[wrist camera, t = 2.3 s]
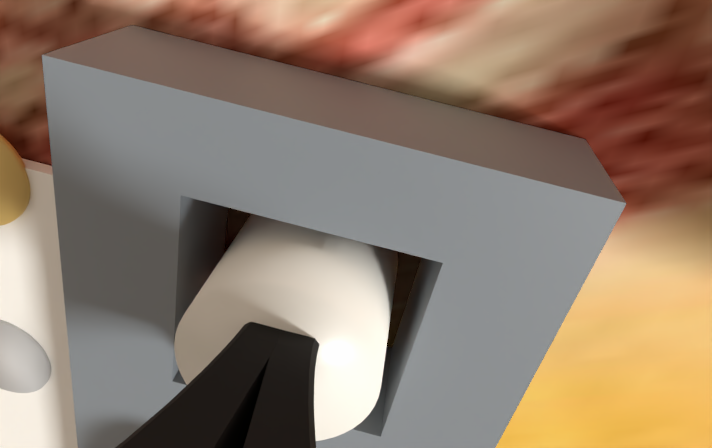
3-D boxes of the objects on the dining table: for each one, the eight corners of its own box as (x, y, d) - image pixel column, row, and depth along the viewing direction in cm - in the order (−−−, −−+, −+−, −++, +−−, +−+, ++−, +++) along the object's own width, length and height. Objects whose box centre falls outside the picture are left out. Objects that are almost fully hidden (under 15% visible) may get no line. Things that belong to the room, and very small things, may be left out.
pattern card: (98, 508, 21) (90, 521, 21) (-22, 475, 21) (-33, 488, 21) (73, 135, 13) (60, 143, 13) (-121, 85, 13) (-142, 92, 13)
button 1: (377, 334, 15) (356, 462, 11) (235, 296, 15) (170, 412, 11) (416, 208, 13) (405, 317, 9) (251, 166, 13) (178, 258, 9)
